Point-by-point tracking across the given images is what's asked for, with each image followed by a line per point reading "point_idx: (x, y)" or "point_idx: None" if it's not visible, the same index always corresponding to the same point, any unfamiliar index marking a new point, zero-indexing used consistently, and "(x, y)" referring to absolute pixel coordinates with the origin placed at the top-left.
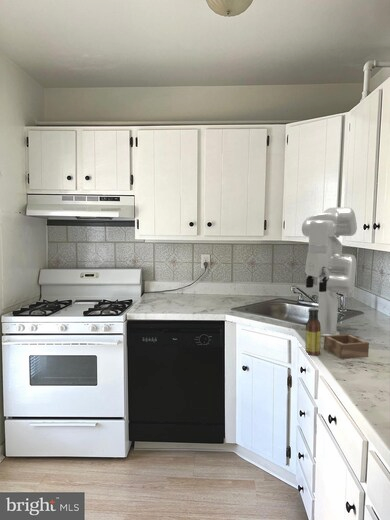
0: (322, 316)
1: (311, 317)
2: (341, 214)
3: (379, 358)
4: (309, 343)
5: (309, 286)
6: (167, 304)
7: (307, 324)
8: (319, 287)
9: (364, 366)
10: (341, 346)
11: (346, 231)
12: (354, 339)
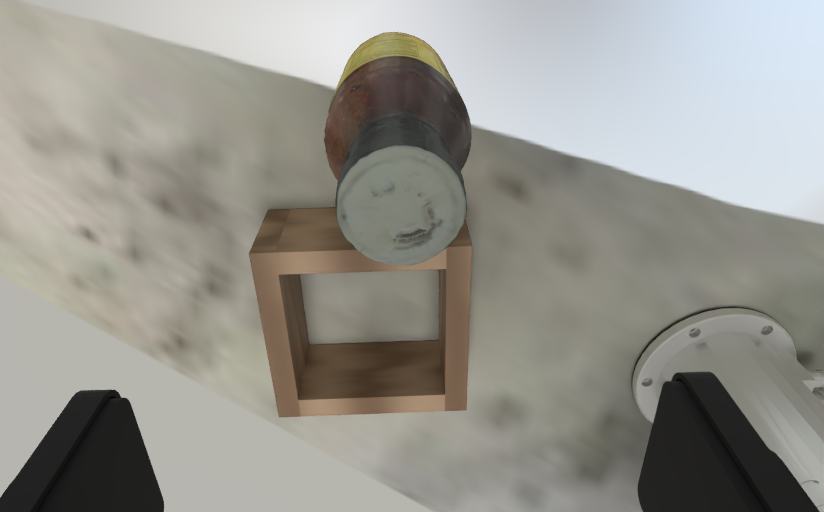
0: (766, 421)
1: (369, 129)
2: None
3: (262, 393)
4: (365, 48)
5: (663, 442)
6: None
7: (394, 72)
8: (35, 471)
9: (146, 261)
10: (265, 246)
11: None
12: (383, 390)
